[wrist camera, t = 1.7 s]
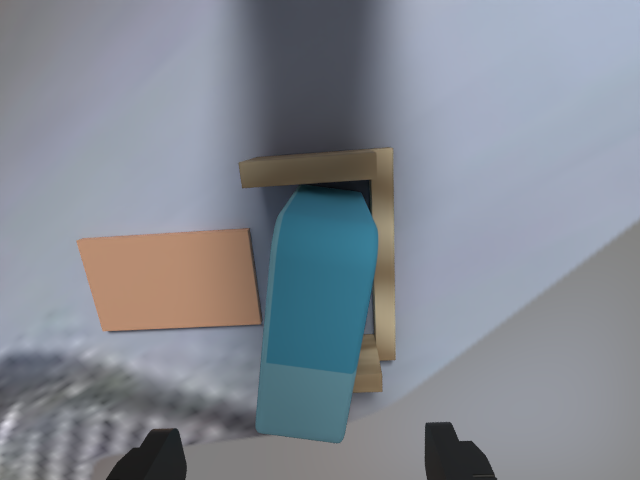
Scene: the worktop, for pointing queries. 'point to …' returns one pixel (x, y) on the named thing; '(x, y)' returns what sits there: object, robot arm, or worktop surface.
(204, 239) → the terracotta pad
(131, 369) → the worktop surface
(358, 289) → the blue flat block
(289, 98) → the worktop surface
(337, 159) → the oak rack
